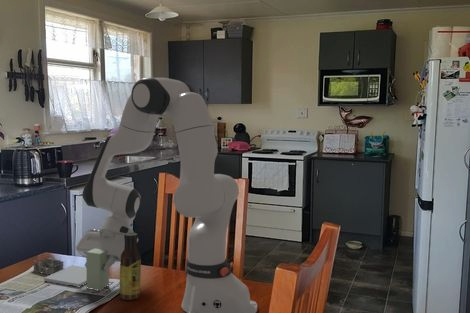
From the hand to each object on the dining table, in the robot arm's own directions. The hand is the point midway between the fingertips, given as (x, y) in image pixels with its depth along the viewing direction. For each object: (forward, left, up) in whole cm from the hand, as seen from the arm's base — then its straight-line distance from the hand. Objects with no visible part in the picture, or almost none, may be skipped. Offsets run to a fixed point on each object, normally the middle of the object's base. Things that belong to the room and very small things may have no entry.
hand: (95, 268), depth 148 cm
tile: (+12, -5, -6) cm, 15 cm away
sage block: (0, -1, -6) cm, 6 cm away
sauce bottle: (-14, +2, -7) cm, 16 cm away
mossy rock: (+25, -8, -7) cm, 27 cm away
